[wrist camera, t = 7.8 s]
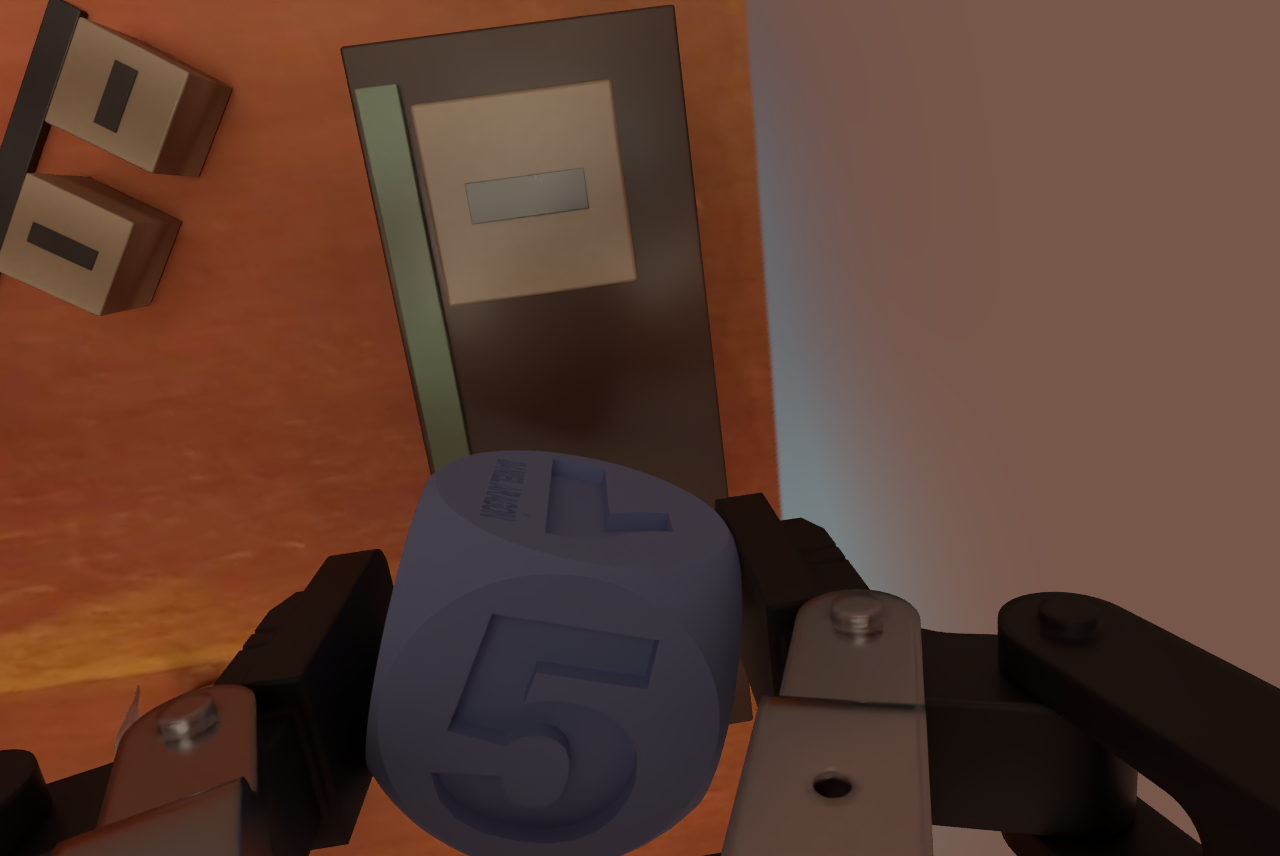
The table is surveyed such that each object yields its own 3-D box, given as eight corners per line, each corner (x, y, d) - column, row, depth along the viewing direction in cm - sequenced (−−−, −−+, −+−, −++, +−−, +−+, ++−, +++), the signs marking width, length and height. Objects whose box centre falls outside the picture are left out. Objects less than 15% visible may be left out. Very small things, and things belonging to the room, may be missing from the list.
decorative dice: (711, 478, 13) (768, 598, 9) (654, 701, 14) (684, 895, 10) (452, 430, 12) (395, 534, 8) (413, 665, 13) (345, 855, 9)
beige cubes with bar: (57, -3, 32) (-14, -32, 28) (233, 87, 34) (188, 72, 30) (-74, 395, 36) (-154, 418, 32) (90, 463, 37) (32, 493, 33)
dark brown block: (442, 118, 35) (278, 4, 15) (629, 93, 35) (700, -49, 16) (522, 550, 40) (476, 870, 21) (684, 525, 40) (787, 817, 21)
